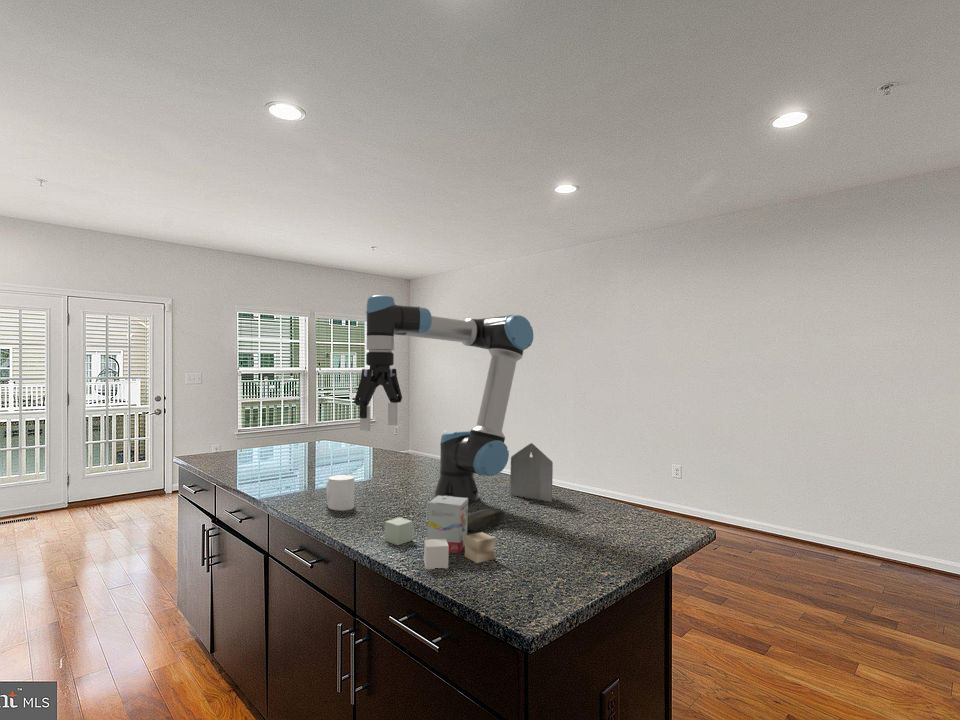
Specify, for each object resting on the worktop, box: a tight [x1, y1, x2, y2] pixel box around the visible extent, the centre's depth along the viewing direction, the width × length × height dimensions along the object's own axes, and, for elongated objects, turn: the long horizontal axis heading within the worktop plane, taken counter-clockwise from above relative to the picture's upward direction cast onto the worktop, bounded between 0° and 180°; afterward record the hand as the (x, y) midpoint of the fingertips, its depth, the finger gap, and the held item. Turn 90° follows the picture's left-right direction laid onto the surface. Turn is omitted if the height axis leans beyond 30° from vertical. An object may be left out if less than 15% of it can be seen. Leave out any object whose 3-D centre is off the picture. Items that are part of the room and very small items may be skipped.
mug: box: [325, 474, 356, 511], centre depth 163 cm, size 12×9×8 cm
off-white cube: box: [423, 539, 450, 570], centre depth 115 cm, size 5×5×5 cm
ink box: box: [426, 495, 469, 554], centre depth 127 cm, size 9×9×12 cm
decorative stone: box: [467, 508, 506, 532], centre depth 145 cm, size 17×6×4 cm, turn 134°
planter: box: [509, 442, 554, 503], centre depth 180 cm, size 16×8×19 cm, turn 58°
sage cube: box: [384, 516, 414, 546], centre depth 131 cm, size 5×5×5 cm
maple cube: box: [464, 532, 495, 564], centre depth 120 cm, size 5×5×5 cm
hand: (379, 427), depth 141 cm, fingers open, 13 cm apart
